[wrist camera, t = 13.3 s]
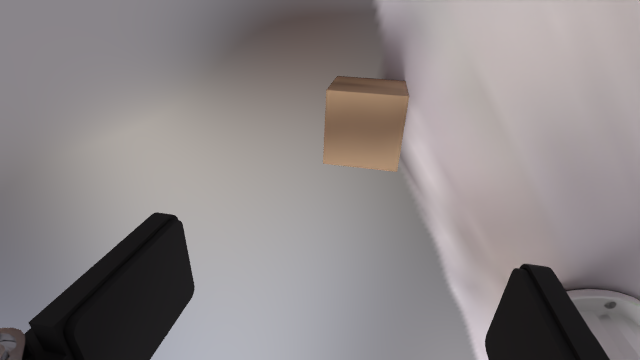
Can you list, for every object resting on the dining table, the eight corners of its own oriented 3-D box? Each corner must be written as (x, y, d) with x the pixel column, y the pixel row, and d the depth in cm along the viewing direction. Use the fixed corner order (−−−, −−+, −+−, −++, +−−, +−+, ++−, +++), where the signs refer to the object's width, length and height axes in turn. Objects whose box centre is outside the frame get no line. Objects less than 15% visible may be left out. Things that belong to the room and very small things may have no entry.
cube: (395, 144, 26) (396, 171, 22) (333, 138, 27) (323, 163, 23) (405, 80, 24) (409, 96, 20) (337, 76, 25) (326, 89, 20)
